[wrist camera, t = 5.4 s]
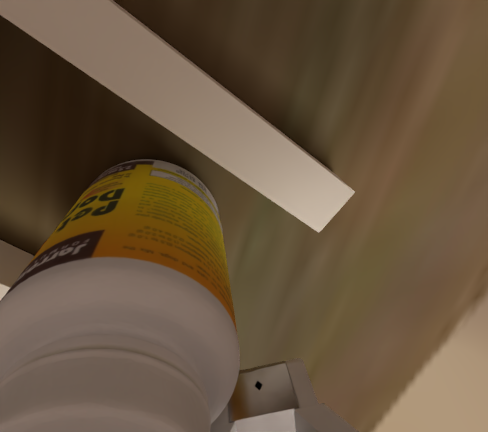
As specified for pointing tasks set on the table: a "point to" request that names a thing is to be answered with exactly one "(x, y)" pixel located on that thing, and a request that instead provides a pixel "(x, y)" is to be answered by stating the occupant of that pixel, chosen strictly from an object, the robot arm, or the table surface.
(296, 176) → the u rest
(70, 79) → the table surface
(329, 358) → the table surface
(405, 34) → the table surface
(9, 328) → the supplement bottle
